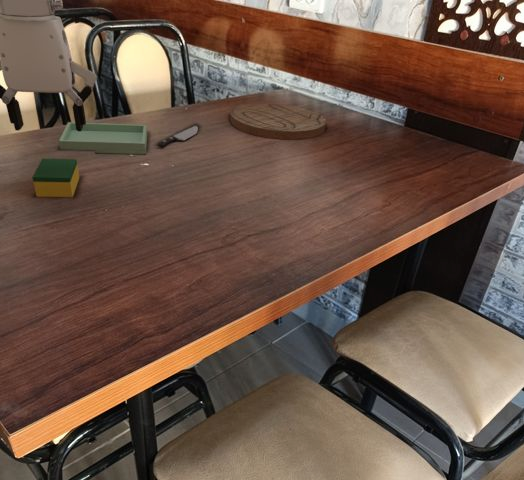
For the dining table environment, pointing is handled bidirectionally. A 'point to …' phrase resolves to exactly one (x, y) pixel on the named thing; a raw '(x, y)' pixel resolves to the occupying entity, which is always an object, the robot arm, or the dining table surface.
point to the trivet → (277, 121)
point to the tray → (105, 138)
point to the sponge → (56, 178)
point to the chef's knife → (180, 136)
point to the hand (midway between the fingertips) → (50, 128)
